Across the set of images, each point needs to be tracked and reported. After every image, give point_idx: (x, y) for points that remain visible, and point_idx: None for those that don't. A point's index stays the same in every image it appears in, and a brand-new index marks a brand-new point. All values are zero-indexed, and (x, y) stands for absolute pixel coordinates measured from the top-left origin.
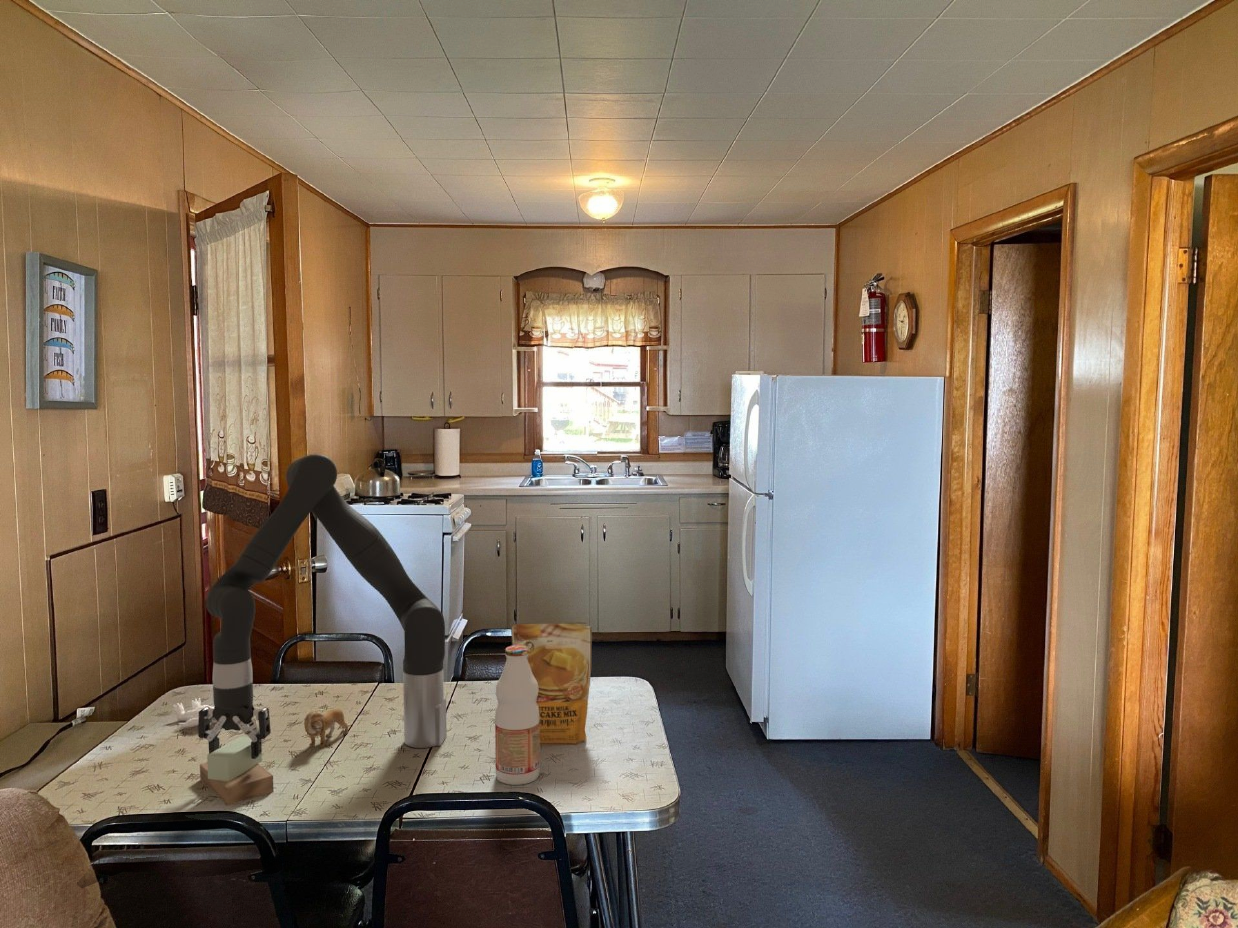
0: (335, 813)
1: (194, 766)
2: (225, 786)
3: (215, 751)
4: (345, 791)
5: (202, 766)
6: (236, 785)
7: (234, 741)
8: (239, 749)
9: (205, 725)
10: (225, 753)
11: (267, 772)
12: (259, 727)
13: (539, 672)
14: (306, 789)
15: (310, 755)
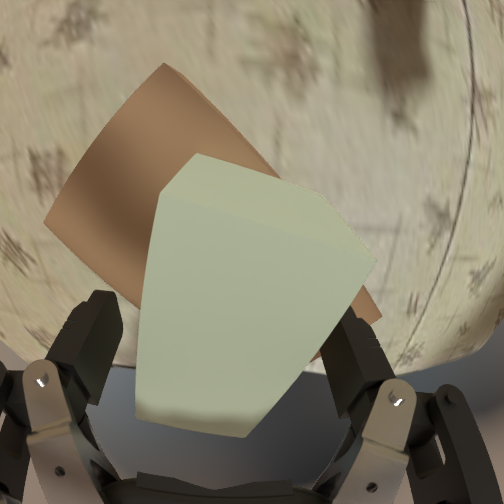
0: (454, 348)
1: (16, 102)
2: None
3: (145, 401)
4: (488, 277)
5: (64, 242)
6: None
7: (165, 308)
8: (265, 394)
9: (18, 462)
10: (211, 418)
11: (363, 298)
12: (411, 484)
13: None
14: (436, 270)
15: (416, 13)
